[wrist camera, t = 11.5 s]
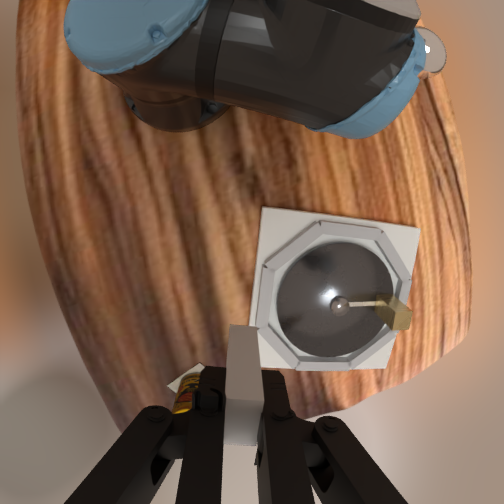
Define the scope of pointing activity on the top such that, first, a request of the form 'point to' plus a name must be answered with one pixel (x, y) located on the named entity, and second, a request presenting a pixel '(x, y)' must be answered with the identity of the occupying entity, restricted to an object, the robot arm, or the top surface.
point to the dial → (338, 300)
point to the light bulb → (432, 53)
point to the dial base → (299, 242)
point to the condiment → (185, 389)
